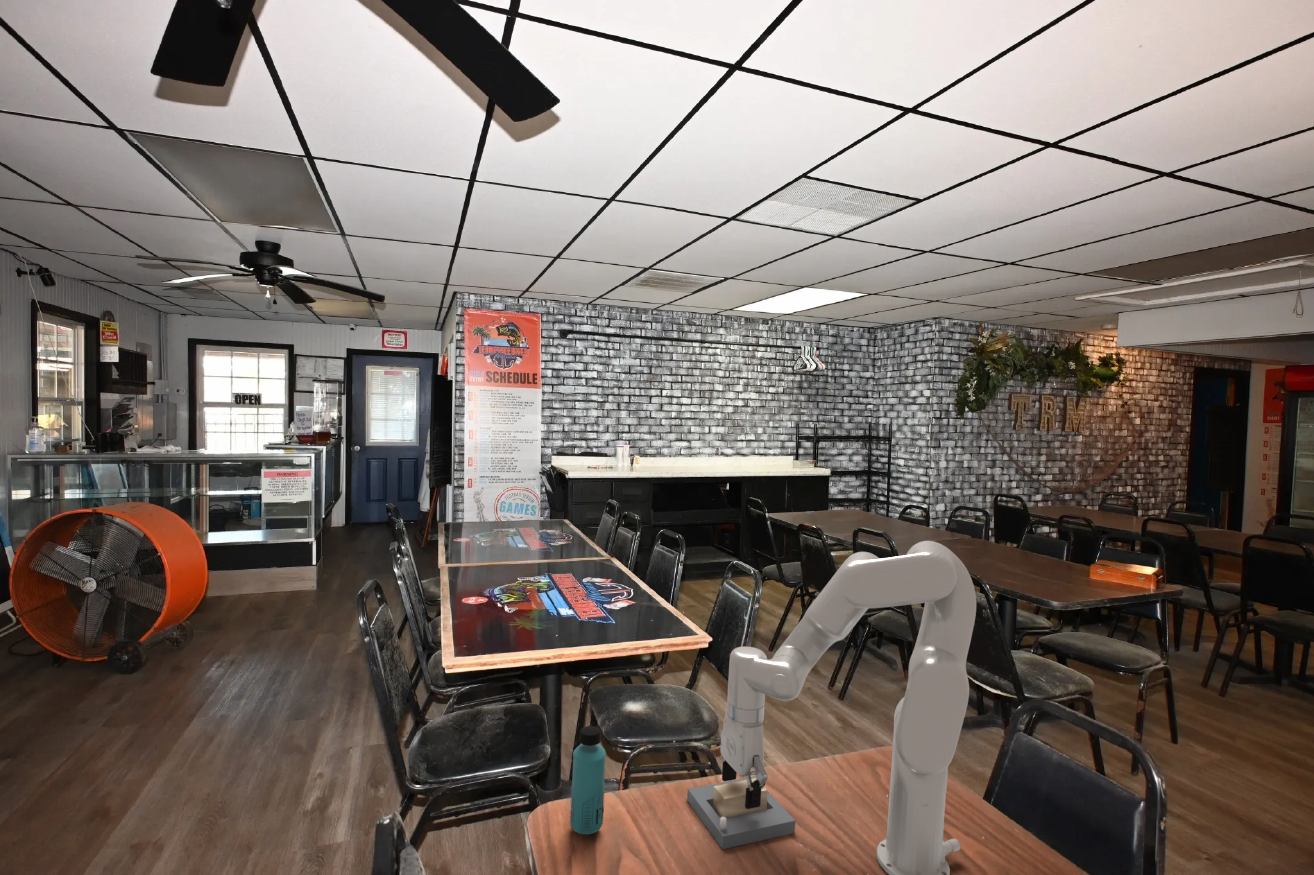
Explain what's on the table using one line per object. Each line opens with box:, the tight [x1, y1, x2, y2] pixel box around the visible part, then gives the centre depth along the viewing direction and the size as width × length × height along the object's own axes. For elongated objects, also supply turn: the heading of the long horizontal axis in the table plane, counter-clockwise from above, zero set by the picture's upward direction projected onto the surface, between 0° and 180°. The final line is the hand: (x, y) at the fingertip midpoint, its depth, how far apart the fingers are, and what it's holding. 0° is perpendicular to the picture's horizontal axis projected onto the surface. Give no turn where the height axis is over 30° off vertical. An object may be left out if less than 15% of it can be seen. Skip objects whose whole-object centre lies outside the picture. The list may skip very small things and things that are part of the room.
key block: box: [713, 778, 769, 818], centre depth 131 cm, size 4×10×6 cm, turn 113°
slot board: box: [686, 775, 796, 850], centre depth 131 cm, size 16×16×4 cm
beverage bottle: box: [569, 725, 607, 835], centre depth 124 cm, size 6×7×20 cm
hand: (740, 793), depth 131 cm, fingers open, 9 cm apart
